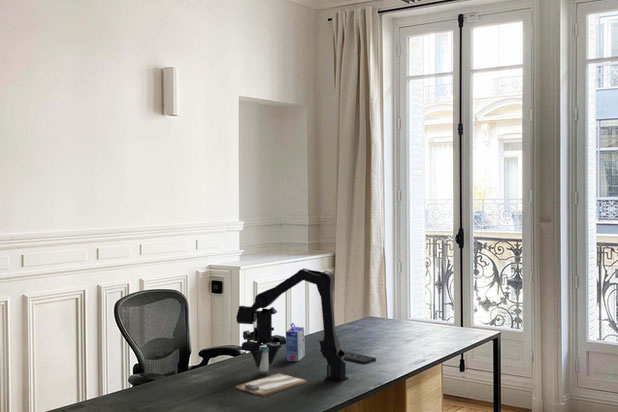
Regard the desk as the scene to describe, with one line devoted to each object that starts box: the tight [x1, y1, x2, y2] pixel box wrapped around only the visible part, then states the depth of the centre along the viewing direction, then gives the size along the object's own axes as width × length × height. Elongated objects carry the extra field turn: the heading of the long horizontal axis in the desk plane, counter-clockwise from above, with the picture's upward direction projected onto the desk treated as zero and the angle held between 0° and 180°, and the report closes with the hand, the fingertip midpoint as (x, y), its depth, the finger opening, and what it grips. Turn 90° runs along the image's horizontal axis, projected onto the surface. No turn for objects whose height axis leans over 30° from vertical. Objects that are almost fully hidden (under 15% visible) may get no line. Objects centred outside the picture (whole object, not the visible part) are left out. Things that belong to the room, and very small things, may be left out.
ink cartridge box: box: [285, 322, 306, 362], centre depth 287 cm, size 10×6×14 cm, turn 164°
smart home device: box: [342, 350, 377, 365], centre depth 287 cm, size 8×2×20 cm
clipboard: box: [235, 373, 307, 397], centre depth 248 cm, size 14×22×2 cm, turn 138°
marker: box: [259, 345, 269, 375], centre depth 264 cm, size 3×3×10 cm
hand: (264, 365), depth 264 cm, fingers open, 6 cm apart
